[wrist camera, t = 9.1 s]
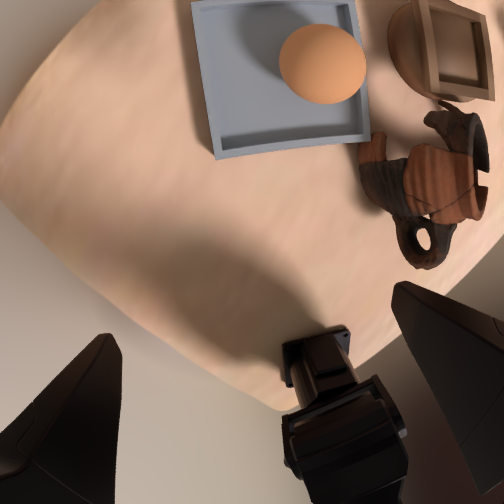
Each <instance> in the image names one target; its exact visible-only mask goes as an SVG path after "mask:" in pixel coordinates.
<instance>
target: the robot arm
mask: <svg viewBox="0 0 504 504" xmlns="http://www.w3.org/2000/svg"><path fill="white" fill-rule="evenodd" d="M391 308H392V311H393V314H394V316H395V318H396V320H397V322H398V325H399V327H400V329H401V331H402V334H403V336H404V338H405V341H406V343H407V345H408V347H409V349H410V351H411V353H412V355H413V356H414V358H415V360H416V362H417V363H418V365H419V367H420V369H421V371H422V373H423V374H424V376H425V378H426V380H427V382H428V384H429V386H430V388H431V390H432V391H433V394H434V396H435V398H436V399H437V401H438V403H439V405H440V407H441V409H442V411H443V413H444V416H445V418H446V420H447V422H448V424H449V426H450V428H451V430H452V432H453V434H454V436H455V439H456V441H457V443H458V445H459V446H460V450H461V452H462V455H463V457H464V459H465V462H466V464H467V466H468V469H469V471H470V473H471V476H472V478H473V481H474V483H475V485H476V488H477V491H478V493H479V495H480V496H482V495H484V494H485V493H487V492H488V491H490V490H491V489H492V488H494V487H495V486H496V485H497V484H499V483H500V482H502V481H503V480H504V321H501V320H499V319H497V318H495V317H492V316H490V315H488V314H485V313H483V312H481V311H478V310H476V309H474V308H471V307H469V306H467V305H464V304H462V303H459V302H457V301H455V300H452V299H450V298H448V297H445V296H443V295H440V294H438V293H435V292H433V291H431V290H428V289H426V288H423V287H421V286H418V285H416V284H413V283H411V282H409V281H402V282H398V283H396V284H395V285H394V289H393V295H392V301H391ZM345 333H346V334H345ZM350 335H351V334H350V331H349V330H348V329H341V330H337V331H333V332H329V333H325V334H321V335H317V336H313V337H309V338H304V339H300V340H296V341H291V342H287V343H284V344H283V345H282V355H283V365H284V374H285V384H286V387H288V388H292V387H294V388H295V392H296V395H297V398H298V402H299V405H300V408H301V410H299V411H297V412H294V413H291V414H289V415H288V414H286V415H283V416H282V424H281V425H282V436H283V446H284V464H285V466H286V467H288V468H290V469H291V470H292V471H293V473H294V475H295V476H296V477H297V478H298V479H299V480H303V481H304V483H305V486H306V488H307V490H308V493H309V496H310V499H311V502H312V503H313V504H402V501H401V499H400V496H401V492H402V488H403V483H404V479H405V477H406V475H407V469H408V454H407V452H406V450H405V447H404V445H403V443H402V440H401V438H402V437H404V436H406V435H407V431H406V428H405V424H404V422H403V419H402V417H401V415H400V413H399V410H398V408H397V407H396V405H395V403H394V401H393V400H392V398H391V396H390V395H389V393H388V392H387V390H386V389H385V387H384V385H383V384H382V383H381V381H380V379H379V377H378V376H377V374H375V375H373V376H371V378H369V379H367V380H365V381H363V382H360V380H359V378H358V376H357V374H356V372H355V370H354V368H353V366H352V364H351V362H350V360H349V358H348V353H349V344H350ZM288 347H289V348H288ZM121 400H122V353H121V351H120V349H119V347H118V345H117V343H116V341H115V339H114V337H113V335H112V334H111V333H104V334H99V335H98V336H97V337H95V338H94V339H93V340H92V341H91V342H90V343H89V344H88V345H87V346H86V347H85V349H83V350H82V351H81V352H80V353H79V354H78V355H77V356H76V357H75V358H74V359H73V360H72V361H71V362H70V363H69V364H68V365H67V366H66V367H65V368H64V369H63V370H62V371H61V372H60V373H59V374H58V375H57V376H56V377H55V378H54V379H53V380H52V381H51V383H50V384H49V385H47V387H46V388H45V389H44V390H43V391H42V392H41V393H40V394H39V395H38V396H37V397H36V398H35V399H34V400H33V402H31V403H30V404H29V405H28V406H27V407H26V409H25V410H24V411H23V412H22V413H21V414H20V415H19V416H18V417H17V418H16V419H15V420H14V421H13V422H12V423H11V424H9V425H8V426H7V427H6V428H5V429H4V430H3V431H2V432H1V433H0V504H115V475H116V474H115V473H116V455H117V442H118V430H119V419H120V410H121ZM503 504H504V503H503Z"/></svg>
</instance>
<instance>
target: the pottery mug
mask: <svg viewBox="0 0 504 504" xmlns="http://www.w3.org/2000/svg"><path fill="white" fill-rule="evenodd" d="M438 104H439V105H440V106H442V107H444V108H446V109H447V110H448V111H446V110H443V111H439V112H436V111H430V112H429V113H428V114H427V115H426V116H425V118H424V124H425V125H426V126H428V127H431V128H434V129H435V130H436V131H437V133H439V134H440V136H441V137H442V138H443V140H444V141H445V143H446V145H447V146H448V148H449V150H450V151H447V150H445V149H440V148H437V147H434V146H431V145H428V144H424V143H423V144H421V145H418V146H415V147H414V148H413V149H412V150H411V152H410V154H409V157H408V158H401V159H397V160H391V161H387V160H386V139H387V136H386V134H385V133H383V132H375V133H373V134H370V136H371V141H368V142H360V144H359V170H360V175H361V182H362V184H363V187H364V190H365V192H366V194H367V196H368V197H369V198H370V199H371V201H373V202H374V203H375V204H376V205H378V206H380V207H381V208H383V209H384V210H386V211H387V212H389V213H390V214H391V215H393V216H392V218H393V220H394V222H395V225H396V234H397V240H398V244H399V247H400V250H401V252H402V254H403V255H404V257H405V259H406V260H407V261H408V262H409V263H410V264H411V265H412V266H414V267H415V269H421V268H423V269H425V270H429V269H432V268H435V267H437V266H438V265H440V264H441V263H442V262H443V261H444V260H445V258H446V256H447V254H448V251H449V248H450V243H451V238H452V235H453V233H454V231H455V229H456V228H457V223H461V222H462V221H464V220H465V219H466V218H468V219H474V220H476V221H478V220H480V219H481V218H482V215H483V213H484V210H485V206H486V201H487V195H488V187H486V186H479V185H478V170H481V171H484V172H486V173H489V169H490V168H489V154H488V144H487V139H486V135H485V132H484V128H483V125H482V122H481V120H480V117H479V116H478V114H477V113H471V114H465V113H463V112H461V111H460V110H459V109H458V108H457V107H455V106H453V105H452V104H450V103H448V102H445V101H442V100H438ZM427 214H429V217H430V219H427V218H425V217H423V215H427ZM421 228H425V229H426V230H427V232H428V234H429V236H430V241H431V246H430V249H429V250H425V249H423V248H422V247H421V245H420V244H419V242H418V240H417V235H416V234H417V231H418V230H419V229H421Z"/></svg>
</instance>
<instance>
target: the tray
mask: <svg viewBox="0 0 504 504" xmlns="http://www.w3.org/2000/svg"><path fill="white" fill-rule="evenodd" d="M191 9H192V16H193V23H194V30H195V37H196V43H197V50H198V57H199V63H200V70H201V76H202V82H203V89H204V95H205V101H206V107H207V113H208V119H209V125H210V131H211V137H212V143H213V149H214V155H215V160H220V159H226V158H232V157H238V156H244V155H251V154H257V153H264V152H271V151H278V150H286V149H294V148H302V147H311V146H320V145H331V144H342V143H354V142H368V141H371V136H370V118H369V104H368V92H367V82H366V75H365V78H364V81H363V83H362V85H361V87H360V88H359V89H358V91H357V92H356V93H355V94H353V95H352V96H351V97H349V98H348V99H346V100H344V101H341V102H338V103H334V104H318V103H313V102H310V101H307V100H305V99H303V98H301V97H300V96H298V95H297V94H295V93H294V92H293V91H292V90H291V89H290V88H289V87H288V85H287V84H286V83H285V81H284V79H283V77H282V75H281V72H280V67H279V55H280V51H281V48H282V46H283V44H284V42H285V41H286V39H287V38H288V37H289V36H290V35H291V34H292V33H293V32H295V31H296V30H298V29H299V28H301V27H304V26H307V25H311V24H328V25H333V26H336V27H338V28H341V29H343V30H344V31H346V32H347V33H349V34H350V35H351V36H352V37H353V38H355V40H356V41H357V42H358V43H359V45H360V46H361V48H362V41H361V34H360V28H359V22H358V16H357V11H356V5H355V0H203V1H196V2H191ZM362 50H363V48H362Z"/></svg>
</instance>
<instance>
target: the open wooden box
mask: <svg viewBox="0 0 504 504" xmlns="http://www.w3.org/2000/svg"><path fill="white" fill-rule="evenodd" d="M411 3H412V4H409V5H406V6H403V7H401V8H400V9H398V10H397V11H396V12H395V14H394V15H393V16H392V18H391V20H390V23H389V27H388V46H389V51H390V55H391V58H392V60H393V63H394V65H395V67H396V69H397V71H398V73H399V74H400V76H401V77H402V78H403V80H404V81H405V82H406V83H407V84H408V85H409V86H410V87H411V88H412V89H413V90H414V91H416V92H417V93H419V94H420V95H422V96H425V97H428V98H432V99H439V100H447V101H454V102H469V101H472V100H474V99H475V98H478V99H484V100H490V101H495V90H494V75H493V64H492V55H491V48H490V41H489V34H488V28H487V23H486V18H485V15H482V14H480V13H478V12H475V11H473V10H470V9H468V8H465V7H462V6H460V5H457V4H455V3H453V2H452V1H449V0H411Z"/></svg>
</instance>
